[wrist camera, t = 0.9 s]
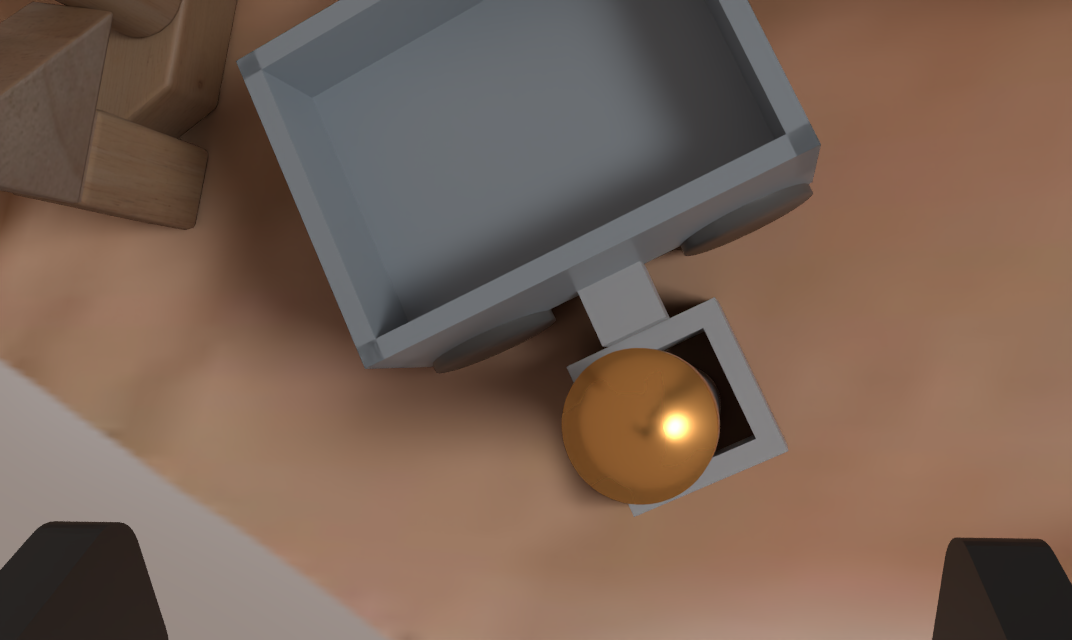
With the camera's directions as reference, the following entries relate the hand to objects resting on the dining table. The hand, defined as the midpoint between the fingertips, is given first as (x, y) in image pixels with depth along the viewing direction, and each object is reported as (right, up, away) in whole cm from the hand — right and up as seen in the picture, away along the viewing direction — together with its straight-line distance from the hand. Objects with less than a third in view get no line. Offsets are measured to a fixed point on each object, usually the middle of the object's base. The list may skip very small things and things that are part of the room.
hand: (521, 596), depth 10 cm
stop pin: (+6, 0, +26) cm, 27 cm away
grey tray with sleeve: (+3, +6, +27) cm, 28 cm away
